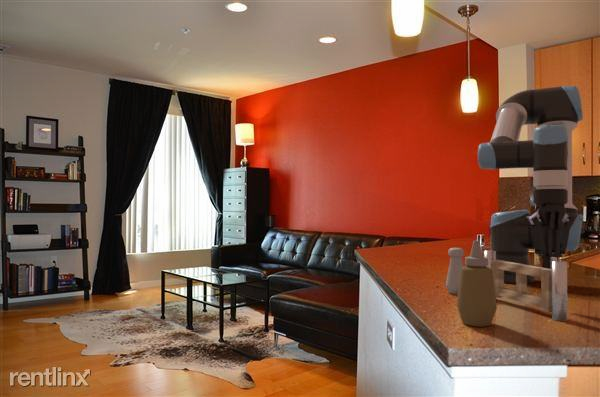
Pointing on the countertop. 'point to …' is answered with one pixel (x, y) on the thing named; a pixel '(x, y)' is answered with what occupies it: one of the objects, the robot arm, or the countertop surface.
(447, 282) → the salt shaker
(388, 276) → the countertop surface
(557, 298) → the gateposts
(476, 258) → the squeeze bottle
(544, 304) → the gate
